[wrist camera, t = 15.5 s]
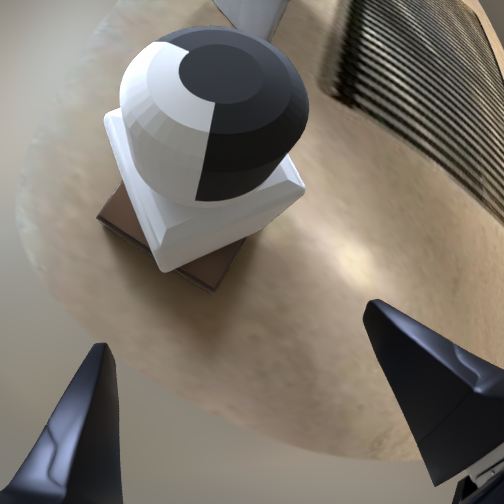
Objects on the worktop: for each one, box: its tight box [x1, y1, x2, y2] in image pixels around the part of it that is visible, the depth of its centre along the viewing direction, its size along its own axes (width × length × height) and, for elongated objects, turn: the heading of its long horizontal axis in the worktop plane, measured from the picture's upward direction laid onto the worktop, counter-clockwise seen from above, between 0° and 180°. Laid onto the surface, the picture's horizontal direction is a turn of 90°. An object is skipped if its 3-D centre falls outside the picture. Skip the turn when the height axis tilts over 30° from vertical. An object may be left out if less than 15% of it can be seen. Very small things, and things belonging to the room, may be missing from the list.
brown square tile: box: [96, 180, 247, 294], centre depth 20 cm, size 9×9×2 cm
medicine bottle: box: [104, 26, 309, 273], centre depth 14 cm, size 7×7×12 cm
